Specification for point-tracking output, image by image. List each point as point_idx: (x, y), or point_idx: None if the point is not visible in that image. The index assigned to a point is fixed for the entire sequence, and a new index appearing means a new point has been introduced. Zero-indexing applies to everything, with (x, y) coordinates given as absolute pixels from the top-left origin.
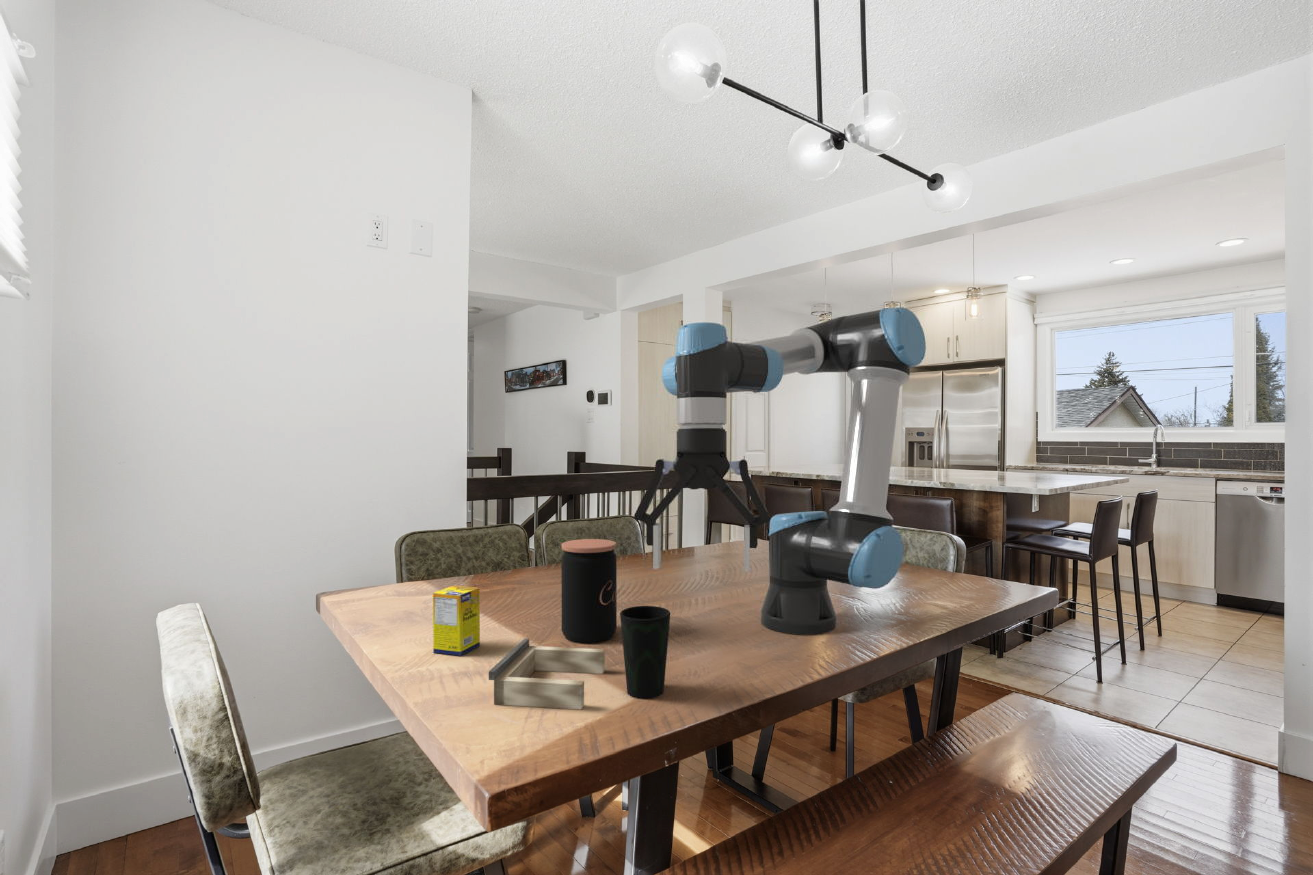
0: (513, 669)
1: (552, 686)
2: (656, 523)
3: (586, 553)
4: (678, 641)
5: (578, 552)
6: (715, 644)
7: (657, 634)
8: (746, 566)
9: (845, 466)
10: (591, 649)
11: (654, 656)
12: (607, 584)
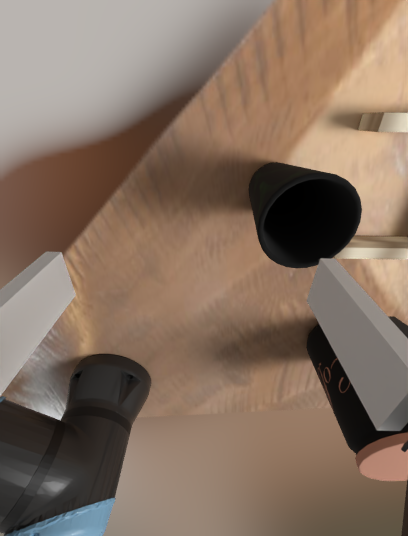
0: None
1: None
2: (400, 425)
3: None
4: (234, 329)
5: None
6: (193, 325)
7: (277, 180)
8: (46, 259)
9: None
10: (353, 255)
11: (273, 173)
12: (347, 384)
